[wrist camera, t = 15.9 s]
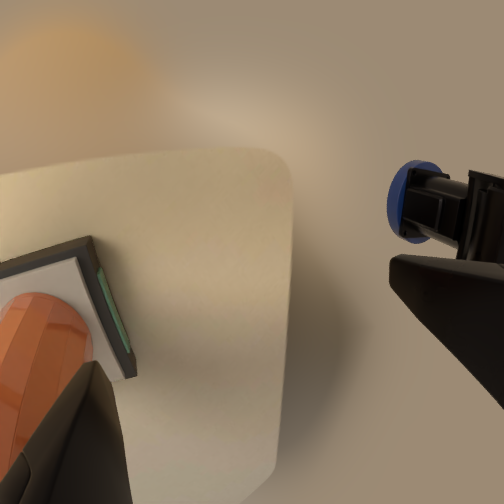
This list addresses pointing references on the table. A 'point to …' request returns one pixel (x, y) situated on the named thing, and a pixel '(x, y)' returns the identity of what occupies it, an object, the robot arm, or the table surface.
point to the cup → (35, 364)
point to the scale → (75, 297)
